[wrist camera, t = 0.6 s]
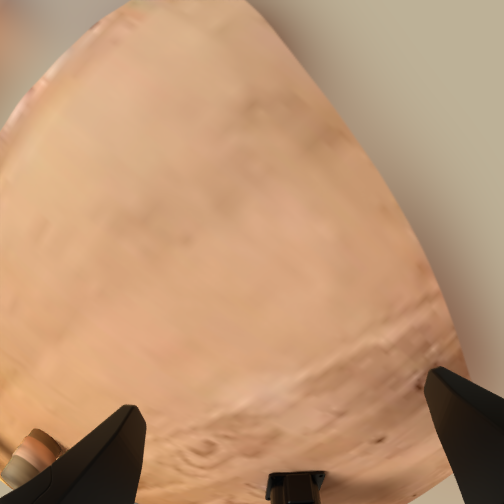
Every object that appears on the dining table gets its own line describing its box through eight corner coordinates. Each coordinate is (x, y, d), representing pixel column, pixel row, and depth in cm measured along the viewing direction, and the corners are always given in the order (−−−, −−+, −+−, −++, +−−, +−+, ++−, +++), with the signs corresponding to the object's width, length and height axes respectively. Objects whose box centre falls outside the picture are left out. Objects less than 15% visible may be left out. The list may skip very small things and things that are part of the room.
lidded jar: (66, 458, 29) (40, 505, 20) (39, 447, 29) (11, 489, 20) (53, 434, 28) (21, 483, 18) (26, 423, 28) (-8, 466, 18)
